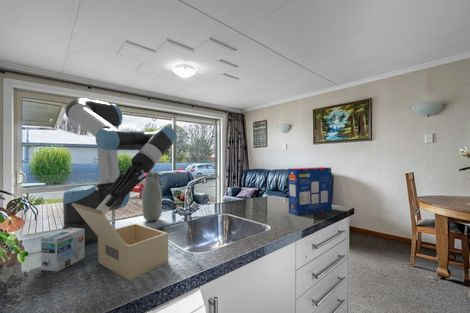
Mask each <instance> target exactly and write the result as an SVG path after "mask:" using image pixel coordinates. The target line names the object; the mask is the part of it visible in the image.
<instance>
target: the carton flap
mask: <svg viewBox="0 0 470 313" xmlns="http://www.w3.org/2000/svg"><path fill="white" fill-rule="evenodd" d="M71 205H72V206H73V207H74V208H75V209H76V210H77V212H78V213H79V214H80V215H81V216H82V218H83V219H84V220H85V221H86V223H87V224H88V225H89V226H90V228H91V229H92V230H93V231H94V232H95V234H96V235H97V236H100V237H102V238H104V239H107V240H109V241H111V242H113V243H116V244H118V245H120V246H123V247H125V248H127V247H128V246H127V245H126V243H125V242H124V241H123V239H122V238H121V237H120V235H119V234H118V233H117V231H116V230H115V229H116V228H115V227H114V226H113V224H112V222H111V221H109V219H108V218H107V216H106V214H105V215H104V214H103V213H102V211H100V210H97V209H93V208H90V207H86V206H83V205H79V204H76V203H72V204H71Z"/></svg>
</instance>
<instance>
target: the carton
mask: <svg viewBox="0 0 470 313" xmlns="http://www.w3.org/2000/svg"><path fill="white" fill-rule="evenodd" d="M114 229H115V230H116V231H117V233H118V234H119V235H120V237H121V238H122V239H123V241H124V242H125V243H126V245H127V246H128V247H127V248H125V247H123V246H120V245H118V244H116V243H113V242H111V241H109V240H107V239H104V238H102V237H100V236H98V240H97V262H98V264H100V265H102V266H103V267H105V268H106V269H109V270H111V271H112V272H114V273H115V274H117V275H118V276H121V278H124V279H126V280H127V281H132V280H134V279H135V278H138V277H140V276H142V275H144V274H147V273H148V272H151V271H152V270H154V269H156V268H159V267H161V266H163V265H165V264H167V263H169V233H168V232H166V231H162V230H159V229H155V228H152V227H149V226H146V225H142V224H139V223H132V224H129V225H126V226H125V225H124V226H121V227H117V228H114Z"/></svg>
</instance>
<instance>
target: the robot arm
mask: <svg viewBox="0 0 470 313" xmlns="http://www.w3.org/2000/svg"><path fill="white" fill-rule="evenodd" d="M64 110H65V117H66V118H67V119H68V120H69V121H70V122H71V123H72V124H75V125H78V126H81V127H82V128H83V129H85V130H86V131H87V132H88V133H90V134H91V135H92V136H93V137H95V143H96V148H97V149H96V150H97V158H98V159H97V161H98V170H99V171H98V172H99V173H98V174H99V180H98V182H97V183H96V186H95V185H94V184H93V185H92V184H91V185H82V186H76V187H72V188H69V189H67V190H65V191H64V193H63V198H62V199H63V200H62V204H63V205H62V206H63V212H62V215H63V226H62V228H61V231H62V230H65V229H67V228H81V229H84V230H85V231H84V235H85V237H84V238H85V239H84V240H85V245H89V244H92V243H94V242H96V241H98V236H97V235H96V234H95V232H94V231H93V230H92V229H91V228H90V226H89V225H88V224H87V223H86V221H85V220H84V219H83V218H82V216H81V215H80V214H79V213H78V212H77V210H76V209H75V208H74V207H73V206H72V205H71V204H72V203H76V204H79V205H83V206H86V207H90V208H93V209H97V210H100V211H102V213H103V214H104V215H105V216H106V214H107V212H110V211H116V210H118V209H123V208H125V207H126V206H127V205H128V203H129V202H130V198H131V192H132V191H133V190H134V188H136V187H137V186H138V185H139V183H141V182H142V181H143V180H145V178H146V174H147V173H149V172H152V170H153V168H154V167H155V165H156V164H158V163H159V162H160V160H161V159H162V157H163V156H164V155H165V154H166V152H168V150H169V149H170V148H171V147H172V146H173V145H174V143H175V142H176V140H177V139H178V135H177V132H176V131H175V130H174V128H172V127H170V126H169V125H162V126H160V127H159V128H158V130H156V131H137V130H125V129H120V128H119V127H120V126H121V125H122V123H123V113H122V109H121V108H120V107H119V106H118V105H117V104H115V103H111V102H108V101H100V100H95V99H88V98H82V97H81V98H76V99H73V100H71V101H70V102H68V103H67V105H66V106H65V109H64ZM118 151H138V152H136V154H135V155H134V156H133V157H132V158H131V160H130V162H131V165H130V166H129V167H127V169H126V170H125V171H124V170H120V165H119V164H120V163H119V155H118Z"/></svg>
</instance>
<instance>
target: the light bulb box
mask: <svg viewBox="0 0 470 313" xmlns="http://www.w3.org/2000/svg"><path fill="white" fill-rule="evenodd" d="M84 231H85V230H84V229H81V228H67V229H65V230H62V229H61V230H58V231H56V232H54V233H51V234H48V235H44V236H42V237H40V239H41V240H40V241H41V242H40V244H41V246H40V248H41V250H40V252H41V253H40V254H41V255H40V256H41V271H48V272H56V273H57V272H60V271H62V270H63V269H66V268H68V267H69V266H71V265H73V264H75V263H77V262H79V261H82V260H84V259H85V251H86V250H85V249H86V248H85V246H86V244H85V240H84V239H85V238H84V237H85V235H84Z"/></svg>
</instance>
